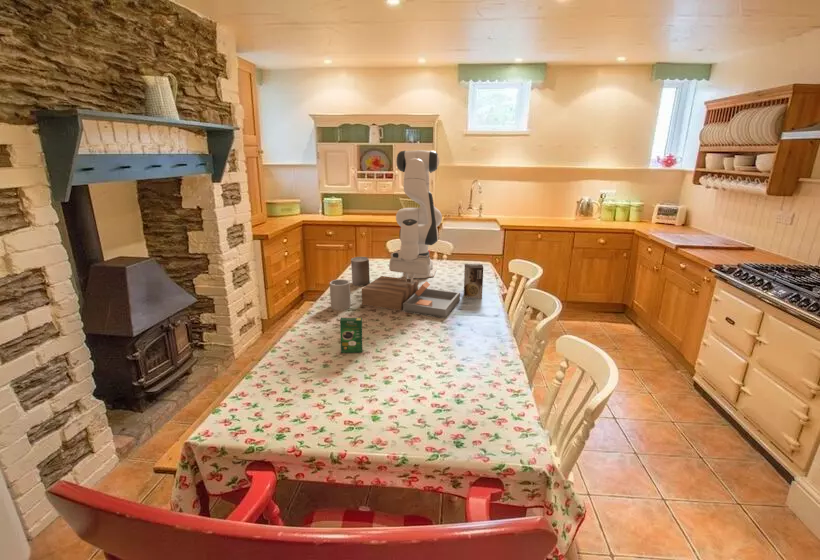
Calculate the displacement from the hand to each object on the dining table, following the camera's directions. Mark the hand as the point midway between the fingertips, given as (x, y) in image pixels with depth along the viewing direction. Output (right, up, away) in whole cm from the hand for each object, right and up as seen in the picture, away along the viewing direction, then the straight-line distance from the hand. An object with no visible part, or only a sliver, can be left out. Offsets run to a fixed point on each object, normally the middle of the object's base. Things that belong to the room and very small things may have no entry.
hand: (409, 281), depth 206 cm
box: (+11, -11, -6) cm, 17 cm away
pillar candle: (-27, -1, +26) cm, 37 cm away
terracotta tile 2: (+5, -3, -1) cm, 6 cm away
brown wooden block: (-9, -9, +1) cm, 13 cm away
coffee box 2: (+32, -8, +6) cm, 33 cm away
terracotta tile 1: (+7, -9, -12) cm, 16 cm away
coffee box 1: (-21, -26, -51) cm, 61 cm away
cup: (-32, -12, -8) cm, 35 cm away
